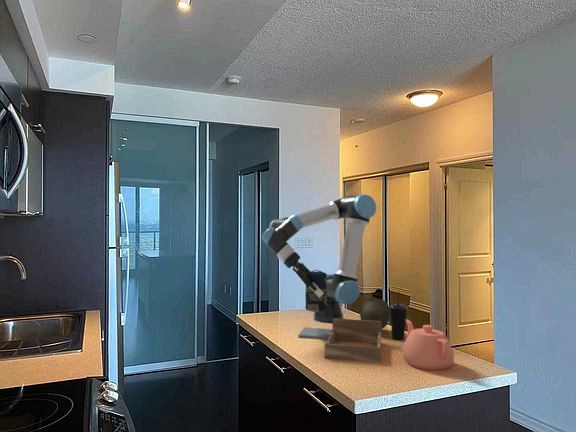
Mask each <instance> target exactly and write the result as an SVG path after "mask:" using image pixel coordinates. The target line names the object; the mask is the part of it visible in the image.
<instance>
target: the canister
mask: <svg viewBox="0 0 576 432" xmlns="http://www.w3.org/2000/svg"><path fill="white" fill-rule="evenodd" d="M310 271H311V270H310ZM306 274H307V275H308V277H309V278H310V279H311V281H312V282H314V283H315V284H316V285H317V286H318V287H319V289H320V290H321V291H322V292H323V293H324V294H323V295H322V296H321V297H320V298H319V297H318V296H317V295H316V294H315V293H314V292H313V291H312V289H311V288H310V287H308V288H307V287H306V286H305V297H304V298H305V309H306V311H309V312H321V311H325V310H326V308H327V275H328V274H327V273H326V272H323V271H321V270H317V269H316V270H312V271H311V272H308V273H306Z"/></svg>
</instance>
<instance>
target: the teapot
mask: <svg viewBox="0 0 576 432" xmlns="http://www.w3.org/2000/svg"><path fill="white" fill-rule="evenodd" d="M405 320H406V324H407V325H406V326H407V334H406V339H405V341H404V344H403V348H402V356H403V358H404V360H405V361H406V362H407V364H408V365H410V366H411V367H414V368H417V369H420V370H426V371H440V370H441V371H442V370H447V369H449V368H450V367H452V365H453V364H454V362H455V357H454V351H453V347H452V345H451V342H450V341H449V339H448V338H447V336H446V334H445V333H444V332H443V331H441V330H438V329H434V326H433V325H430V324H423V325H422V327H421V328H415V327H414V325H413V322H412V321H411V320H409V319H407V318H406V319H405Z"/></svg>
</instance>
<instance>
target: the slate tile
mask: <svg viewBox="0 0 576 432" xmlns="http://www.w3.org/2000/svg"><path fill="white" fill-rule="evenodd" d="M332 329H333V328H318V327H303V328H302V330H301V331H300V332H299V333H298V336H297V337H298V338H301V339H303V338H304V339H305V338H306V339H320V340H321V339H322V340H327V339H328V337H329V335H330V333H331V331H332Z"/></svg>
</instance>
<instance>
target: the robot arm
mask: <svg viewBox="0 0 576 432" xmlns="http://www.w3.org/2000/svg"><path fill="white" fill-rule="evenodd" d="M376 211H377V204H376V201H375V199H374V198H373V197H372V196H371V195H369V194H363V193H359V194H354V195H352V194H351V195H347V196H343V197H341V198H338V199H336V200H333V201H330V202H329V204H326V205H323V206H320V207H317V208H312V209H309V210H307V211H302V212H299V213H296V214H292V215H289V216H286V217H285V216H284V217H283V218H277V219H276V218H275V219H273V220H272V221H270V223H269V227H268V228H267V229H266V230H265V231H264V232H263V233H262V235H261V240H262V241H263V242H264V244H265V245H266V246H267V247H268V248H269V249H270V250H271V251H272V252H273V253H274V255H275V256H277V259H278V260H280V261H281V262H283V264H284V266H286V268H287V269H291V268H292V271H293V272H295V273H296V275H297V276H298V278H299V279H301V281H302V282H303V283H304V284H305V288H306V287H307V288H308V287H310V288H311V289H312V291H313V292H314V293H315V294H316V295H317V296H318V297H319V298H320V297H321V296H322V295H323V294H324V293H323V292H322V291H321V290H320V289H319V287H318V286H317V285H316V284H315V283H314V282H312V281H311V279H310V278H309V277H308V275H307V274H306V273H308V272H311V270H309V268H308V267H307V266H306V265H305V264H304V263H303V262H300V261H299V260H300V259H301V256H300V255H299V254H298V253H297V252H296V251H295V249H294V248H293V247H292V246H291V245H290V243H288V241H289V240H290V239H291V238H293V237H294V236H295V235H296V234H297V233H298V232H300V231H301V230H302V229H304V228H307V227H310V226H314V225H317V224H320V223H324V222H327V221H329V220H336V221H337V220H339V219H345V220H346V222H347V226H346V229H345V230H346V231H345V236H344V240H343V245H342V250H341V254H340V259H339V263H338V269H337V271H335V272H334V273H331V274H327V308H326V310H325V311H321V312H314V313H313V320H314V321H317V322H323V323H333V318H335V319H344V313H343V310H342V309H343V308H342V307H341V305H351V304H353V303H354V302H356V300H357V299H358V298H359V296H360V292H361V291H360V287H359V284H358V280H359V279H358V276H357V275H356V272H357V269H358V261H359V258H360V252H361V249H362V248H361V247H362V243H363V238H364V233H365V229H366V226H368V225H369V223H370V219H371V218H372V217H373V216H375V215H376Z"/></svg>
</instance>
